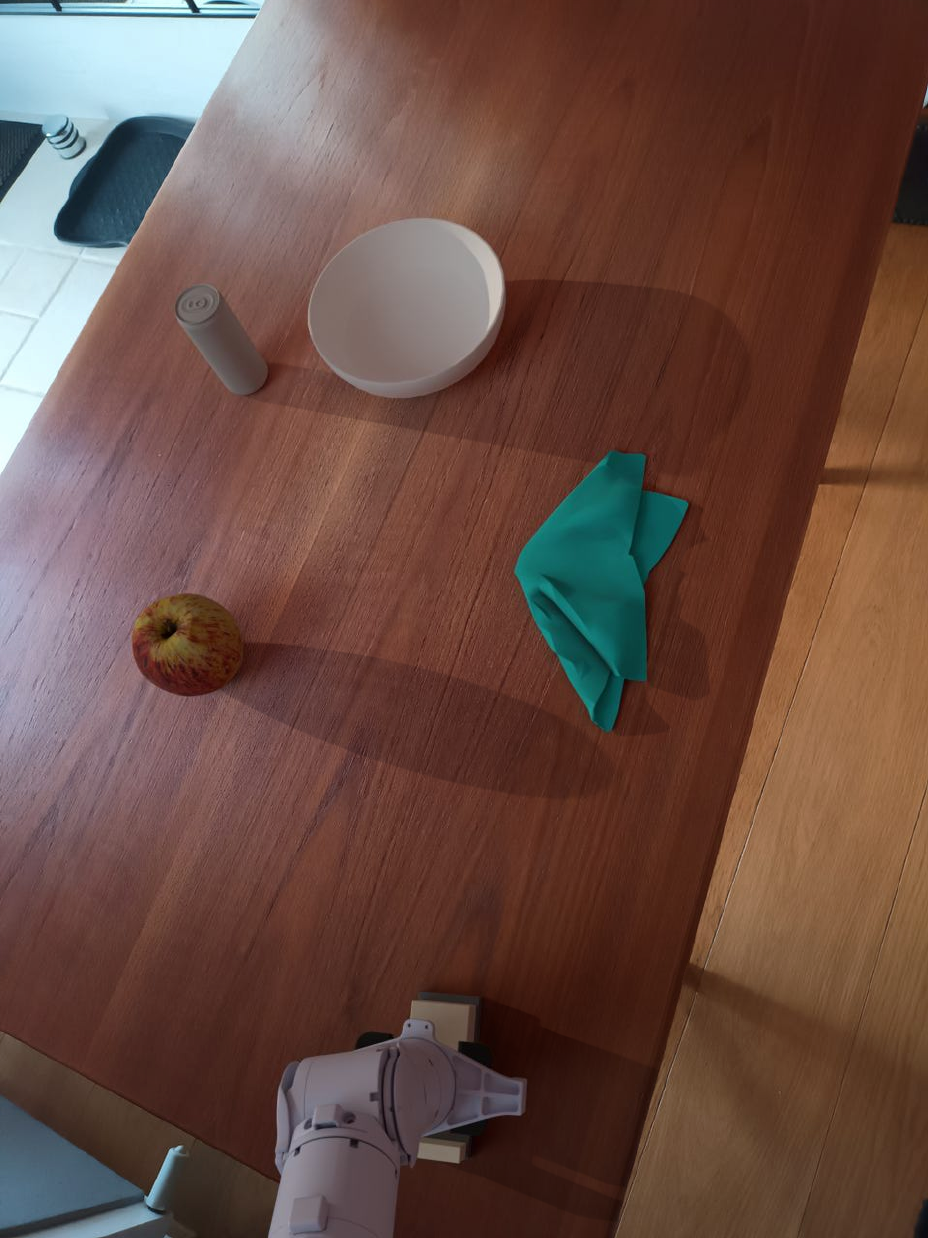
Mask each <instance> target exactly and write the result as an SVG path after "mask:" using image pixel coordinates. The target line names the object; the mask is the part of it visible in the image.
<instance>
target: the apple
mask: <svg viewBox="0 0 928 1238" xmlns="http://www.w3.org/2000/svg"><path fill="white" fill-rule="evenodd" d="M131 645H132V646H131V647H132V648H131V649H132V655H133V658H134V659H133V660H134V661H135V664H136V666H137V668H138V670H139V671H140V673H141V675H142V676H143V677H144V678H145V679H146V680H147V681H149V682H150V683H151V684H152V685H153V686H156V687H157V688H159V690H162V691H165V692H167V693H170V694H173V695H176V696H179V697H189V698H190V697H192V698H193V697H199V696H205V695H209V694H211V693H215V692H216V691H219V690H221V689H223V688H224V687H226V685H228V684H229V683H230V682H231V681H232V679H234V677H235V676H236V674H237V673H238V671H239V670H240V669H241V666H242V663H243V660H244V640H243V636H242V632H241V629H240V628H239V625H238V624H237V622H236V620H235V618H234V617H233V615H232V614H231V613H230V611H229V610H228V609H227V608H226V607H225V606H223V605H222V604H221V603H219V602H218V601H215V600H214V599H212V598H210V597H207V596H205V595H201V594H198V593H191V592H184V593H177V594H173V595H169V596H166V597H163V598H160V599H158V600H156V601H153V602H152V603H150V604H148V605H147V606H146V607H145V608H144V609H143V610H142V611H141V613H140V614H139V615H138V617H137V619H136V621H135V622H134V625H133V628H132V634H131Z"/></svg>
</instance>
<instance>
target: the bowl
mask: <svg viewBox="0 0 928 1238" xmlns="http://www.w3.org/2000/svg"><path fill="white" fill-rule="evenodd" d="M506 293H507V291H506V280H505V272H504V269H503V266H502V264H501V260H500V258H499V256H498V255H497V253H496V252H495V251H494V249H493V247H492V246H491V245H490V243H489V242H487V241H486V240H485V239H484V238H483V237H482V236H481V235H479V233H478V232H477V233H476V232H475V231H473V230H472V229H471V228H468V227H466V226H464V225H463V224H459V223H455V222H454V221H450V220H447V219H441V218H432V217H414V218H413V217H412V218H411V217H410V218H405V219H401V220H395V221H391V222H388V223H385V224H382V225H379V226H376V227H373V228H372V229H370V230H368V231H366V232H365V233H362V234H360V235H359V236H357V237H356V238H354V239H353V240H351V241H350V242H349V243H348V244H346V245H345V246H344V247H342V248H341V249H340V250H339V251H338V252H337V253H336V254H335V255H334V256H333V257H332V258H331V259H330V260H328V263H327V264H326V266H324V268H323V270H322V271H321V273H320V274H319V276H318V277H317V280H316V282H315V284H314V286H313V289H312V291H311V294H310V299H309V302H308V307H307V326H308V330H309V334H310V339H311V341H312V343H313V345H314V348H315V349H316V351H317V353H318V355H319V356H321V358H322V359H323V361H324V362H325V363H326V365H327V366H328V367H329V368H330V369H331V370H332V371H333V372H334V373H335V375H337V376H338V377H339V378H341V379H342V380H344V381H345V382H347V383H348V384H350V385H351V386H354V388H356V389H358V390H360V391H363V392H365V393H367V394H370V395H373V396H378V397H382V398H388V399H410V398H416V397H423V396H427V395H430V394H433V393H435V392H439V391H442V390H444V389H446V388H448V387H451V386H452V385H454V384H456V383H458V382H459V381H461V380H462V379H464V378H465V377H466V376H468V374H470V373H471V372H473V371H474V370H475V369H476V368H477V367H478V366H479V365H480V363H481V362H482V361H483V360H484V359H485V358H486V357H487V355H488V354H489V352H490V351H491V349H492V347H493V346H494V344H495V343H496V340H497V338H498V335H499V332H500V330H501V327H502V324H503V320H504V317H505V311H506V304H507V294H506Z"/></svg>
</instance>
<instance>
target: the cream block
mask: <svg viewBox="0 0 928 1238" xmlns="http://www.w3.org/2000/svg"><path fill="white" fill-rule="evenodd" d="M482 1006H483V996H477V995H467V994H457V993H446V992H437V991H427V990H426V991H425V990H419V991H418V995H417V999H414V1000H411V1006H410V1018H409V1019H422V1020H430V1021H432V1022H433V1023H434V1025H435V1037H436V1039H437V1040H438V1041H439V1042H441V1043H443V1044H445V1045H446V1046H448V1047H450V1048H452V1049H454V1050H456V1051H458V1042H459V1041H466V1042H475V1043H480V1036H481V1034H480V1033H481V1020H482ZM410 1026H411V1024H410ZM427 1027H428V1028H429V1026H427ZM472 1145H473V1136H470V1135H462V1134H454V1133H450V1129H449V1130H445V1131H441V1132H438V1133H434V1134H431V1135H427V1136H424V1137H420V1144H419V1151H418V1156H417V1159H423V1160H429V1161H430V1160H431V1161H436V1162H445V1163H452V1164H461V1162H462V1161H469V1159H470V1158H471V1157H472Z"/></svg>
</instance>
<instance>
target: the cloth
mask: <svg viewBox="0 0 928 1238" xmlns="http://www.w3.org/2000/svg"><path fill="white" fill-rule="evenodd" d="M646 460H647V455H645V454H643V453H622V452H619V451H617V450H616V449H615V450H614V449H611V450H610V451H609V452H608V453H607V454H606V455H605V456H604V457H603V458H602V460H601V461H600V462H599V463H598V464H597V465H596V466H595V467H594V468H593V469H592V470H591V471H590V472H589V473H588V474H587V476H586V477H584V478H583V480H582V481H581V482H580V483H579V484H578V485H577V486H576V487H575V488H574V489H573V490H572V491H571V492H570V493H569V494H568V495H567V496H566V497H565V498H564V499H563V501H562V502H560V504H558V506H557V507H556V508H555V509H554V511H553V512H552V513H551V514H550V516H549V517H548V518H547V519H546V520H545V521H544V522H543V524H542V525H541V526H540V527H539V528H538V530H536V532H535V533H534V534H533V535H532V536H531V537H530V539H529V540H528V542H527V543H526V544H525V545H524V547H523V548H522V550H521V551H520V553H519V555H518V558H517V562H516V565H515V568H514V574H515V576H516V577H517V579H518V581H519V583H520V586H521V588H522V591H523V593H524V597H525V599H526V601H527V605H528V607H529V610H530V613H531V616H532V618H533V619H534V622H535V623H536V625H537V627H538V629H539V631H540V632H541V634H542V635H543V637H544V639H545V640H546V642H547V644H548V645H549V648H550V649H551V650H552V651H553V652H554V653H555V654H556V655H557V658H558V659H559V661H560V664H561V666H562V668H563V669H564V672H565V674H566V676H567V678H568V680H569V682H570V683H571V685H572V686H573V689H575V691H576V692H577V695H578V696H579V697H580V699H581V701H582V702H583V704H584V705H585V706H586V708H587V711H588V714H589V717H590V720H591V722H592V723H594V724H595V725H596V726H597V727H598V728H600V729H601V730H602V731H603V732H611V731H612V729H613V728H614V724H615V721H616V719H617V716H618V713H619V709H620V703H621V698H622V693H623V688H624V682H625V679H626V680H629V681H639V682H640V681H641V682H647V678H648V677H647V676H648V674H647V673H648V671H647V666H648V665H647V663H648V662H647V657H648V656H647V655H648V654H647V651H648V650H647V649H648V648H647V647H648V646H647V645H648V644H647V623H646V621H647V620H646V594H645V590H644V589H645V588H644V586H645V584H646V582H647V580H648V578H649V575H650V574H649V573H650V571H651V570H652V569H653V568H654V567H655V566H656V565H657V564H658V563H659V562H660V560H661V559H662V558H663V556H664V554H665V553H666V551H668V548H669V547H670V546H671V544H672V542H673V540H674V538H675V536H676V534H677V532H678V530H679V529H680V527H681V525H682V522H683V520H684V517H685V515H686V512H687V510H688V508H689V502H688V501H687V500H685V499H681V498H678V497H674V496H670V495H667V494H663V493H660V492H655V491H647V490H643V484H644V476H645V468H646V467H645V466H646V462H647V461H646Z"/></svg>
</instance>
